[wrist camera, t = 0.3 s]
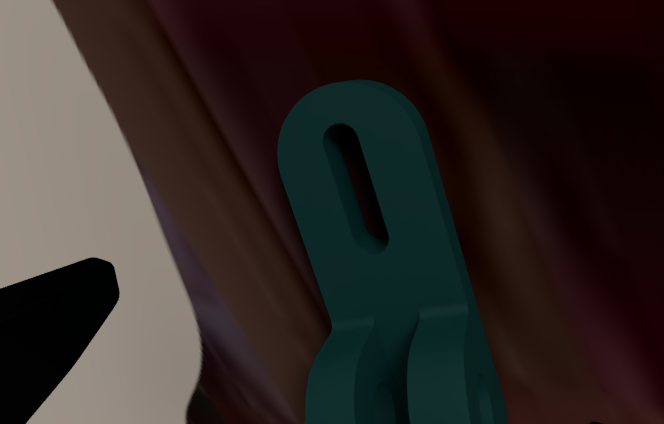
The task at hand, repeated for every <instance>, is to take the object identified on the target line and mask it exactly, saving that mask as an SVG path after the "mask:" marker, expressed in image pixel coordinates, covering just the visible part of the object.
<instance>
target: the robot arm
mask: <svg viewBox="0 0 664 424" xmlns="http://www.w3.org/2000/svg"><path fill="white" fill-rule="evenodd" d="M118 299H119V287H118V283H117V278H116V274H115V269H114V266H113V265H112V264H111V263H110V262H108V261H105V260H102V259H99V258H88V259H85V260H82V261H79V262H76V263H74V264H71V265H68V266H65V267H62V268H60V269H56V270H53V271H51V272H47V273H44V274H42V275H39V276H36V277H33V278H30V279H27V280H24V281H21V282H19V283H15V284H13V285H10V286H7V287H4V288H1V289H0V424H26V423H27V421H28V420H29V419H30V418H31V416H32V415H33V414H34V413H35V412H36V411H37V409H38V408H39V407H40V406H41V404H42V403H43V402H44V401H45V400H46V399H47V397H48V396H49V395H50V394H51V393H52V391H53V390H54V389H55V388H56V387H57V386H58V384H59V383H60V382H61V381H62V380H63V378H64V377H65V376H66V375H67V373H68V372H69V371H70V370H71V368H72V367H73V366H74V364H75V363H76V362H77V360H78V359H79V358H80V356H81V355H82V353H83V352H84V350H85V349H86V348H87V346H88V345H89V343H90V342H91V340H92V339H93V337H94V336H95V334H96V333H97V331H98V330H99V329H100V327H101V326H102V324H103V323H104V321H105V320H106V318H107V317H108V315H109V314H110V313H111V311H112V310H113V308H114V307H115V305H116V303H117V301H118ZM589 424H601V423H598V422H591V423H589Z"/></svg>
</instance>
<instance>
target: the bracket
mask: <svg viewBox="0 0 664 424" xmlns="http://www.w3.org/2000/svg"><path fill="white" fill-rule="evenodd" d="M341 123H342V124H346V125H348V126H350V127H351V128H353V129H354V131H355V132H356V133H357V135H358V138H359V141H360V145H361V148H362V151H363V154H364V158H365V161H366V164H367V167H368V170H369V174H370V177H371V180H372V183H373V186H374V190H375V193H376V196H377V199H378V202H379V206H380V209H381V212H382V215H383V218H384V222H385V225H386V228H387V231H388V235H389V239H377V238H375V237H373V236H372V235H371V234H370V233H369V232H368V231H367V229H366V226H365V223H364V220H363V217H362V213H361V210H360V207H359V204H358V201H357V198H356V195H355V192H354V189H353V185H352V182H351V179H350V176H349V173H348V170H347V167H346V164H345V160H344V157H343V154H342V151H341V148H340V145H339V142H338V138H337V132H338V128H339V126H340V125H341ZM277 157H278V166H279V171H280V175H281V178H282V181H283V184H284V187H285V190H286V193H287V196H288V199H289V201H290V204H291V207H292V210H293V213H294V216H295V219H296V222H297V224H298V227H299V230H300V233H301V236H302V239H303V242H304V245H305V247H306V250H307V253H308V256H309V259H310V262H311V265H312V268H313V270H314V273H315V276H316V279H317V282H318V285H319V288H320V291H321V293H322V296H323V299H324V302H325V305H326V308H327V311H328V314H329V316H330V319H331V323H332V331H331V334H330V335H329V337H328V338H327V340H326V341H325V343H324V344H323V346H322V347H321V349H320V351H319V352H318V354H317V355H316V357H315V359H314V362H313V364H312V367H311V370H310V373H309V377H308V383H307V389H306V398H305V424H506V423H507V409H506V406H505V402H504V399H503V395H502V391H501V388H500V384H499V381H498V377H497V374H496V370H495V367H494V363H493V360H492V356H491V353H490V349H489V346H488V342H487V339H486V335H485V332H484V328H483V325H482V321H481V318H480V314H479V311H478V307H477V303H476V300H475V296H474V293H473V289H472V286H471V282H470V279H469V275H468V272H467V268H466V265H465V261H464V258H463V254H462V251H461V247H460V244H459V240H458V237H457V233H456V230H455V226H454V222H453V219H452V215H451V212H450V208H449V205H448V201H447V198H446V194H445V191H444V187H443V184H442V180H441V177H440V173H439V170H438V166H437V163H436V159H435V156H434V152H433V149H432V145H431V142H430V138H429V134H428V131H427V128H426V125H425V123H424V121H423V119H422V117H421V115H420V114H419V112H418V111H417V109H416V108H415V107H414V105H413V104H412V103H411V102H410V101H409V100H408V99H407V98H406V97H405V96H403V95H402V94H401V93H399V92H398V91H396V90H395V89H393V88H391V87H389V86H387V85H385V84H382V83H379V82H375V81H370V80H350V81H344V82H338V83H333V84H329V85H325V86H322V87H320V88H317V89H315V90H313V91H312V92H310V93H309V94H307V95H306V96H304V97H303V98H302V99H301V100H300V101H299V102H298V103H297V104H296V105H295V106H294V107H293V108H292V110H291V111H290V112H289V114H288V116H287V118H286V119H285V121H284V124H283V126H282V129H281V132H280V136H279V140H278V152H277Z"/></svg>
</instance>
